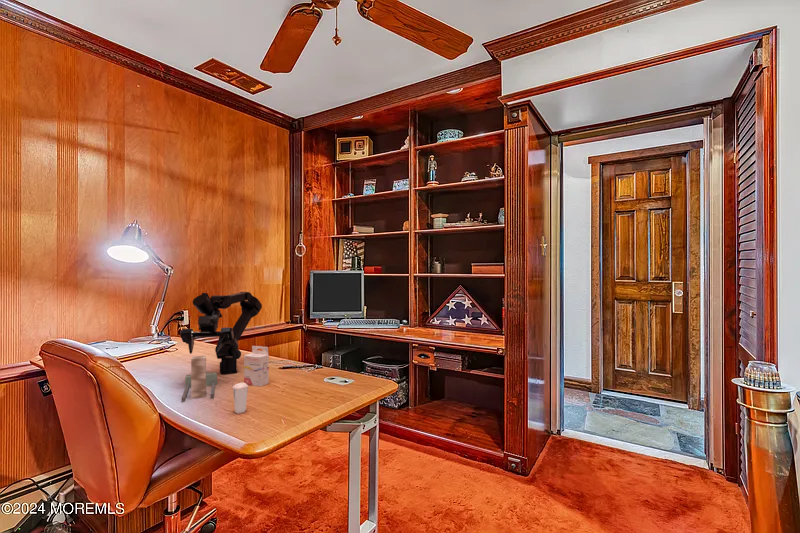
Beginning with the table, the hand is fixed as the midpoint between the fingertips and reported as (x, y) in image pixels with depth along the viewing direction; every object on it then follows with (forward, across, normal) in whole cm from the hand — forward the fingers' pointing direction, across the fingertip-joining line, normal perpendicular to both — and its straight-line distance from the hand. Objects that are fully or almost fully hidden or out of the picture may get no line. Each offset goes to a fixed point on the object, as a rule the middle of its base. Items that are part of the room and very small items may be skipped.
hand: (203, 352), depth 150 cm
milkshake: (+30, +18, -10) cm, 37 cm away
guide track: (+12, 0, +8) cm, 14 cm away
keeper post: (+16, +1, +4) cm, 16 cm away
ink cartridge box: (+8, +19, +11) cm, 24 cm away
